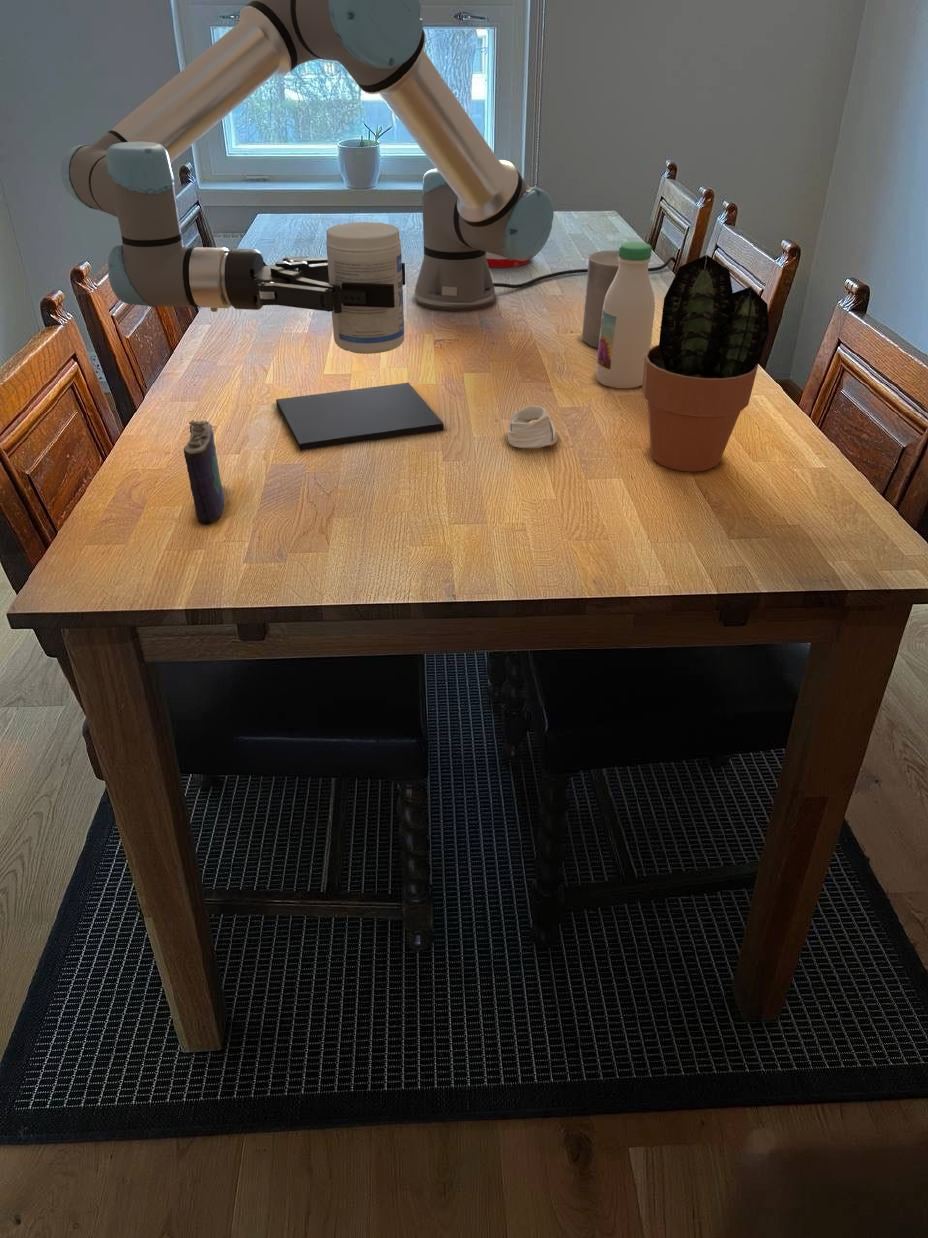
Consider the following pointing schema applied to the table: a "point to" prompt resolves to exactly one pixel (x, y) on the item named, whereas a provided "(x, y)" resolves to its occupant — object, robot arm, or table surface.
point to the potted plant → (702, 365)
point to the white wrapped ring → (531, 428)
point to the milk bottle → (627, 320)
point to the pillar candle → (598, 292)
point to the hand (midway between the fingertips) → (399, 284)
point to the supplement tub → (366, 259)
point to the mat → (357, 416)
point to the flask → (204, 473)
